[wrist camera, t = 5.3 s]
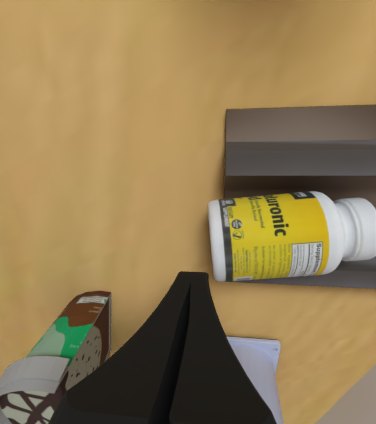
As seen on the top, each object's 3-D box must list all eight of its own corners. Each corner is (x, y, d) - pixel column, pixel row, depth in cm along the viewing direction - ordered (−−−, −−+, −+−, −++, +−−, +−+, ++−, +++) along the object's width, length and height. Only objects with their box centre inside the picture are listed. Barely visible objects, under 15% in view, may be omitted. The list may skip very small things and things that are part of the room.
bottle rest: (403, 282, 22) (429, 312, 19) (222, 274, 24) (222, 300, 21) (483, 101, 15) (540, 106, 13) (226, 109, 17) (227, 115, 14)
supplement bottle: (205, 186, 18) (349, 172, 18) (209, 245, 21) (334, 236, 20) (210, 232, 14) (406, 216, 13) (215, 300, 16) (375, 290, 16)
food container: (51, 269, 26) (-38, 369, 17) (111, 281, 26) (53, 388, 17) (61, 346, 32) (-1, 451, 23) (110, 357, 31) (66, 466, 23)
